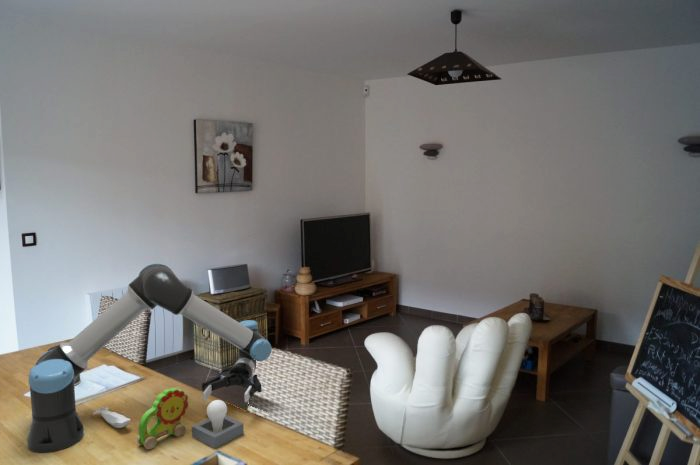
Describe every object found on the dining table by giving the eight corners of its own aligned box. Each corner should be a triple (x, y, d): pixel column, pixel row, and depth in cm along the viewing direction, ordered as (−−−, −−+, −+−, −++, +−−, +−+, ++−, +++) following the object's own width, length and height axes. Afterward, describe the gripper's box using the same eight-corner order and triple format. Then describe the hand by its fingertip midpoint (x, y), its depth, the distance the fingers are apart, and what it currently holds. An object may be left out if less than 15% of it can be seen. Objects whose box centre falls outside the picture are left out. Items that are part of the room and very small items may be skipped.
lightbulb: (230, 430, 169) (229, 396, 167) (224, 440, 163) (223, 405, 161) (211, 429, 169) (210, 396, 168) (204, 439, 163) (203, 404, 162)
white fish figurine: (118, 435, 166) (118, 423, 166) (92, 419, 178) (91, 407, 177) (135, 428, 170) (134, 416, 170) (108, 413, 182) (108, 402, 181)
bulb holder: (214, 448, 158) (214, 437, 158) (192, 437, 165) (191, 426, 165) (243, 434, 167) (243, 423, 167) (221, 423, 174) (220, 413, 173)
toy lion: (146, 452, 157) (143, 403, 155) (136, 446, 160) (133, 397, 158) (192, 431, 169) (191, 385, 167) (182, 426, 172) (180, 381, 170)
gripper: (276, 382, 193) (263, 409, 172) (208, 381, 195) (187, 407, 174) (276, 362, 192) (262, 387, 171) (207, 361, 194) (186, 385, 173)
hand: (224, 397), depth 172 cm, fingers open, 13 cm apart
